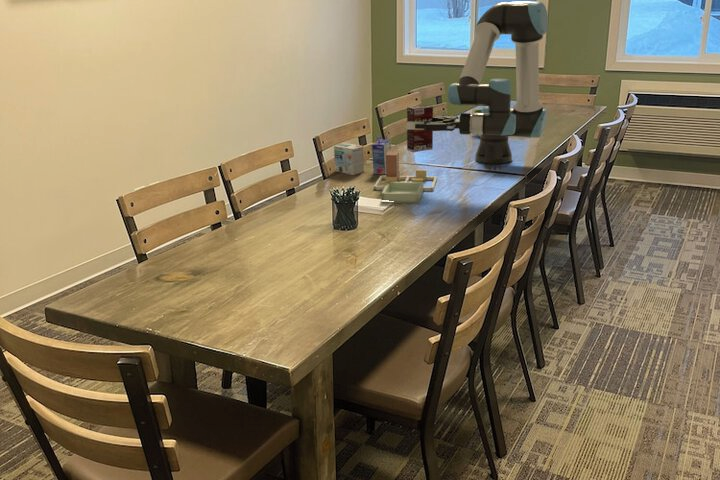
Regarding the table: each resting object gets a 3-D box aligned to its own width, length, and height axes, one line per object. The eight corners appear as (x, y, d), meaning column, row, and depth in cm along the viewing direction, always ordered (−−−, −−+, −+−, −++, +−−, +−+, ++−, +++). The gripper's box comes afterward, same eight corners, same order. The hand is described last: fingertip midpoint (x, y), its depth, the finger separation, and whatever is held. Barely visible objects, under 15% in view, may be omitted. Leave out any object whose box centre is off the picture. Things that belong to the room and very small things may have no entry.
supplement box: (413, 153, 248) (413, 109, 242) (406, 150, 252) (406, 107, 246) (433, 149, 252) (433, 106, 246) (426, 147, 256) (426, 104, 250)
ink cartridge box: (379, 168, 282) (378, 133, 277) (392, 168, 281) (392, 133, 276) (372, 174, 274) (371, 138, 269) (385, 174, 272) (384, 138, 267)
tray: (423, 191, 248) (423, 182, 247) (418, 203, 234) (418, 194, 233) (388, 190, 251) (387, 181, 249) (381, 202, 237) (381, 193, 236)
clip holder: (437, 179, 263) (437, 169, 261) (433, 191, 248) (433, 180, 246) (380, 178, 267) (380, 168, 265) (373, 189, 252) (373, 179, 251)
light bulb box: (334, 171, 280) (333, 145, 276) (345, 168, 284) (344, 142, 280) (353, 175, 273) (352, 148, 269) (364, 171, 277) (363, 145, 274)
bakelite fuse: (399, 182, 261) (398, 151, 256) (396, 186, 255) (396, 155, 251) (388, 182, 261) (388, 151, 257) (386, 186, 256) (385, 155, 252)
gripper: (467, 141, 235) (403, 139, 241) (474, 128, 254) (415, 127, 260) (467, 119, 232) (402, 118, 238) (475, 108, 252) (415, 107, 258)
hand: (409, 122), depth 249 cm, fingers closed on supplement box, 9 cm apart
